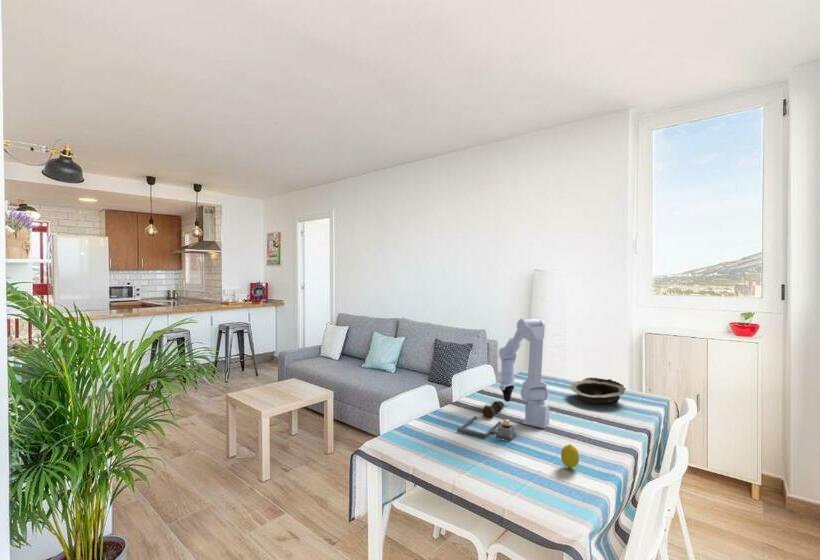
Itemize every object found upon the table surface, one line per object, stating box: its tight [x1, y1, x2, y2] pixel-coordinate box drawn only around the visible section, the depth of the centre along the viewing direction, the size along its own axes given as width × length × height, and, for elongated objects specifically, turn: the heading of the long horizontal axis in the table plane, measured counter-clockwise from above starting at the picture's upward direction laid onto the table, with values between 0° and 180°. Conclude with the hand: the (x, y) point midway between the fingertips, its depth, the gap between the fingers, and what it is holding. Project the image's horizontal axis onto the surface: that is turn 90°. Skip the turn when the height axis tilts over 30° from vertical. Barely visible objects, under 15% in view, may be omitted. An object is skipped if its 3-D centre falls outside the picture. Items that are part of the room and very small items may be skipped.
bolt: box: [481, 400, 504, 419], centre depth 182 cm, size 6×5×15 cm
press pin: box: [502, 418, 510, 428], centre depth 156 cm, size 2×2×3 cm
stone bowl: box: [569, 377, 626, 405], centre depth 197 cm, size 25×25×9 cm
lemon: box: [560, 443, 580, 470], centre depth 132 cm, size 6×6×8 cm
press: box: [456, 415, 517, 442], centre depth 162 cm, size 21×17×4 cm
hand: (507, 401), depth 192 cm, fingers closed
